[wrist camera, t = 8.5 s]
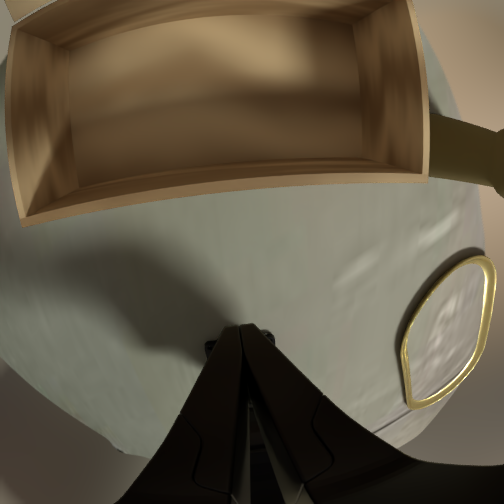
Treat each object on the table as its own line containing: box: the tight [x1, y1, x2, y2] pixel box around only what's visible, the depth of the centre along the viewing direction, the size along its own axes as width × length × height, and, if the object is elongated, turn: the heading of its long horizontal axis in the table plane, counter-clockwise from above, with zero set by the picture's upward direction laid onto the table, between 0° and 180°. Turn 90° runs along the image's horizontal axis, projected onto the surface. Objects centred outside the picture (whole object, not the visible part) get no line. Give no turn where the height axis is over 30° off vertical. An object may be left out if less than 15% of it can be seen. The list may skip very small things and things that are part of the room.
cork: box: [428, 113, 504, 198], centre depth 14 cm, size 6×6×11 cm
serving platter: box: [400, 255, 496, 410], centre depth 32 cm, size 19×35×2 cm, turn 29°
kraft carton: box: [5, 0, 430, 228], centre depth 12 cm, size 12×22×8 cm, turn 94°
